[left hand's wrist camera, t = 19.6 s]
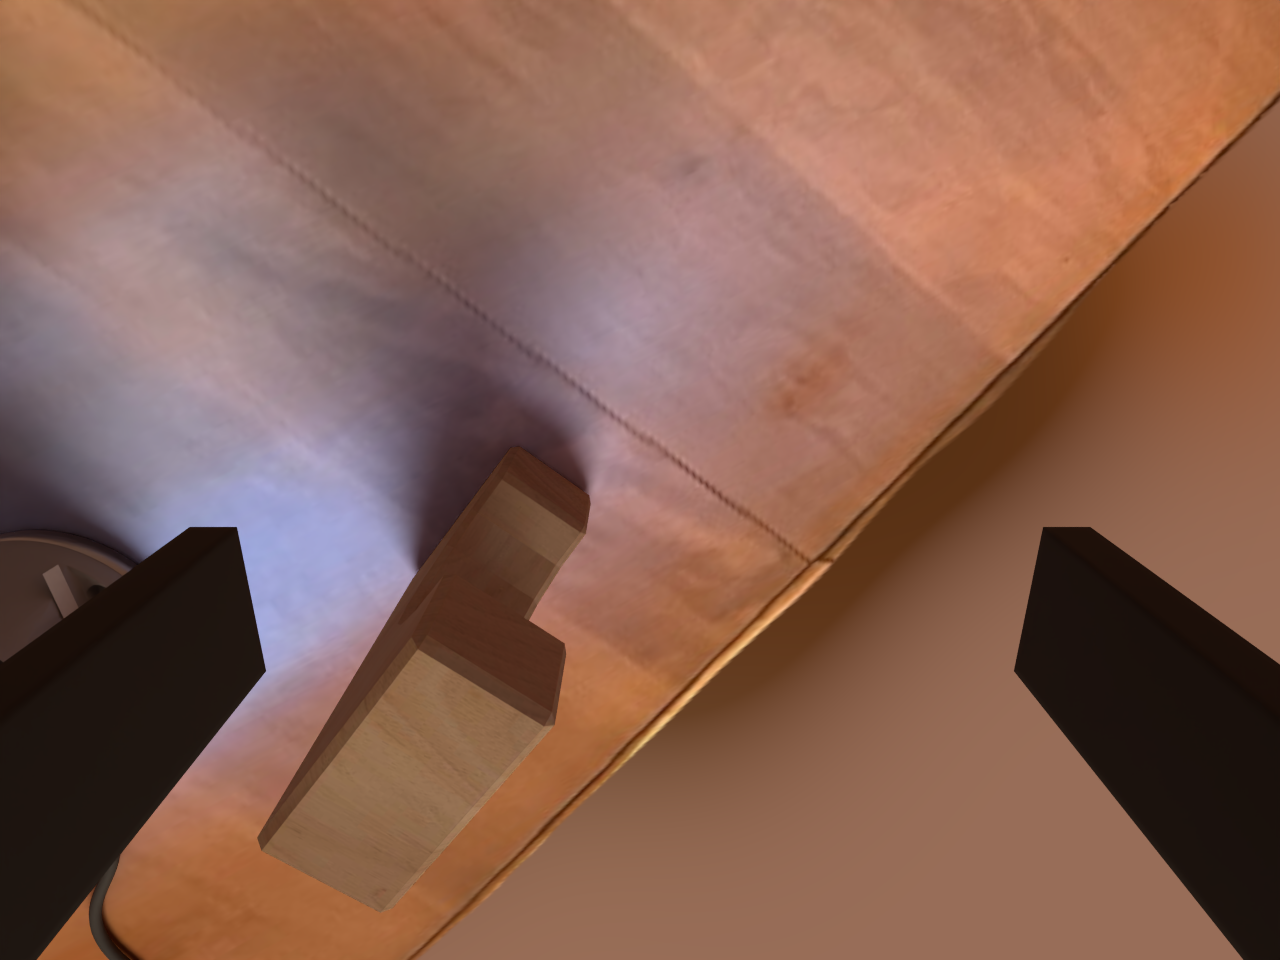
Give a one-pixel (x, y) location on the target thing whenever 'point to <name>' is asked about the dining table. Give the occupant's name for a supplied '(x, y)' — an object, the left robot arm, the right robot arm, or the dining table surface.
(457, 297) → the dining table surface
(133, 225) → the dining table surface
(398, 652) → the decorative block
